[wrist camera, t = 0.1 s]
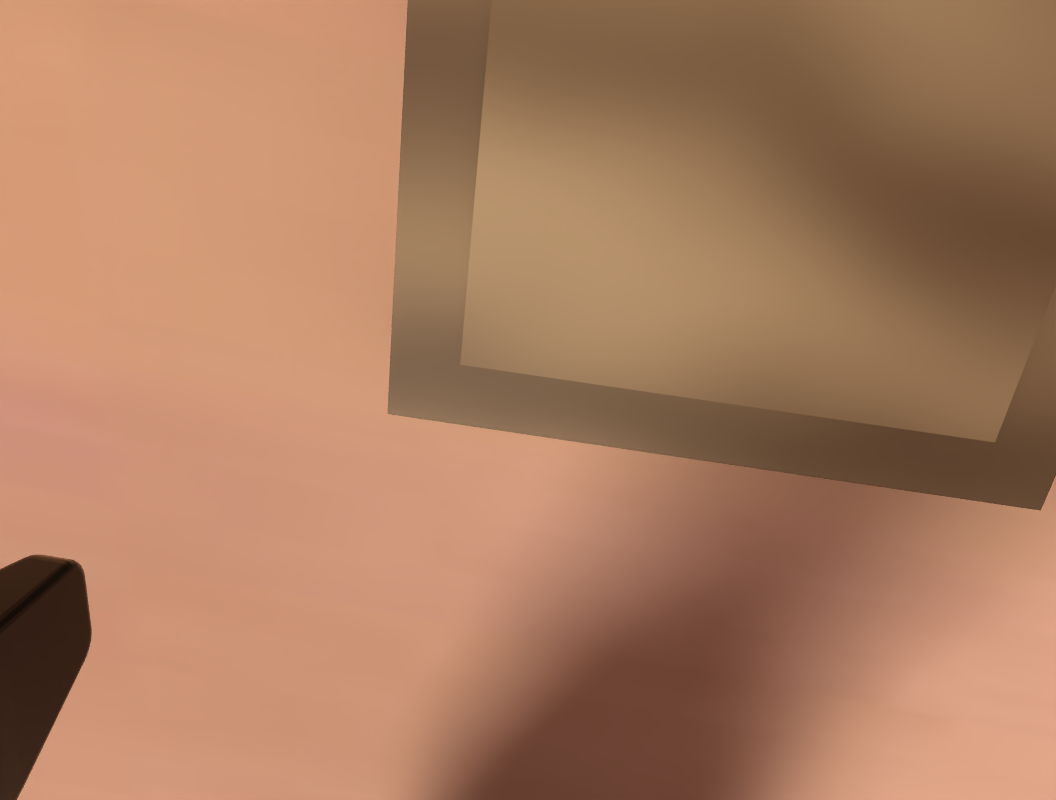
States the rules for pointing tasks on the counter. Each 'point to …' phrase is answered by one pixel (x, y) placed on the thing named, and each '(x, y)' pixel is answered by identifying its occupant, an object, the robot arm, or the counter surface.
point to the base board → (738, 233)
